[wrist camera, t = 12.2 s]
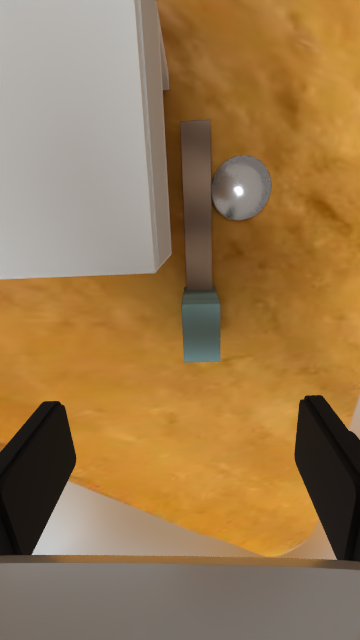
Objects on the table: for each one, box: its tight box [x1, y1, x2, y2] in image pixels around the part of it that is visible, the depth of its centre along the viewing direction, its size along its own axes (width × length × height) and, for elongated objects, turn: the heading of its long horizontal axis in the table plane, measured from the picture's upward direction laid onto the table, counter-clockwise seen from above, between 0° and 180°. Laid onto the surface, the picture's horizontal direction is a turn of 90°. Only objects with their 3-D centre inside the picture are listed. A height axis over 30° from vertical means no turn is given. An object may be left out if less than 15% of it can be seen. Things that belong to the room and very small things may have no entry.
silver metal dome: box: [211, 155, 271, 220], centre depth 25 cm, size 5×5×2 cm
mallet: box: [180, 119, 220, 362], centre depth 24 cm, size 19×3×7 cm, turn 3°
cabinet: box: [0, 0, 172, 279], centre depth 18 cm, size 14×17×16 cm
